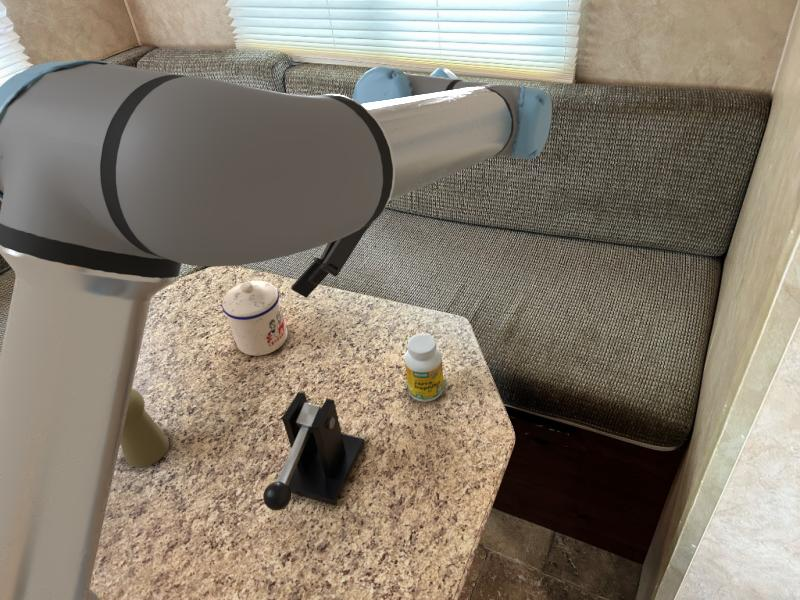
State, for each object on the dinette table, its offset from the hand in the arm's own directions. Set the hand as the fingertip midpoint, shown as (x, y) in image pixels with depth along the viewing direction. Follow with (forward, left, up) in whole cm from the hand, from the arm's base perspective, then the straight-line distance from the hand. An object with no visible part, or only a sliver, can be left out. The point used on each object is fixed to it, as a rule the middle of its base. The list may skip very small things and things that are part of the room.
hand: (300, 265), depth 95 cm
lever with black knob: (-22, -24, -6) cm, 33 cm away
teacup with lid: (-6, +6, -13) cm, 16 cm away
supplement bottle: (+1, -24, -13) cm, 28 cm away
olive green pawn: (-32, 0, -13) cm, 35 cm away
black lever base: (-18, -22, -13) cm, 32 cm away
